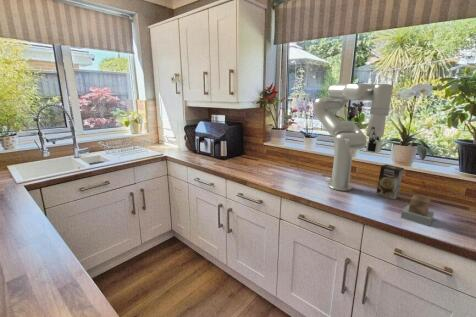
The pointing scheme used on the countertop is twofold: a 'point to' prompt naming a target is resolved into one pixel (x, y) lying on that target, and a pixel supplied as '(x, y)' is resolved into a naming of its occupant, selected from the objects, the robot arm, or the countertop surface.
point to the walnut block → (419, 205)
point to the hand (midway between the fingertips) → (373, 150)
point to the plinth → (417, 216)
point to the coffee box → (389, 181)
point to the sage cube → (378, 146)
